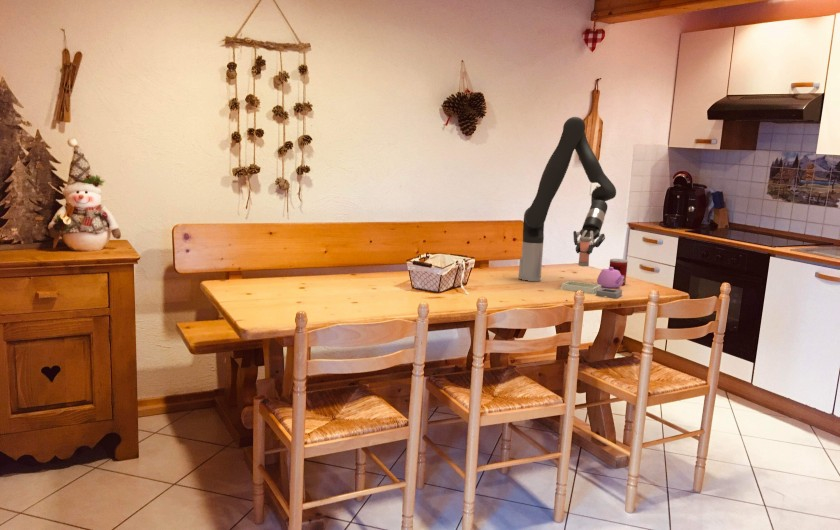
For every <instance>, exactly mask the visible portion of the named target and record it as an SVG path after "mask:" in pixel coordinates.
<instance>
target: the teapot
mask: <svg viewBox="0 0 840 530" xmlns="http://www.w3.org/2000/svg"><path fill="white" fill-rule="evenodd" d="M623 278H624V276H623V275H621V273H620V271H618V270H614V269H613V267H608V268H603V269H601V271H600V273H599V274H598V276H597V278H596V279H597V280H596V284H597V285H601V287H602V288H607V289H614V288H615V289H617V288H621V287H622V286H623V285H622V284H623Z"/></svg>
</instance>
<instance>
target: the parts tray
mask: <svg viewBox="0 0 840 530" xmlns="http://www.w3.org/2000/svg"><path fill="white" fill-rule="evenodd" d="M601 288H602V286H601V285H599V284H598V283H589V282H581V281H573V280H568V281H566V282H564V283H561V288H560V290H563V291H564V290H565V291H571V292H577V291H578V290H581V291H583V292H582V293H585V294H591V295H596V291H597V290H599V289H601Z"/></svg>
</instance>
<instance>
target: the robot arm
mask: <svg viewBox="0 0 840 530" xmlns="http://www.w3.org/2000/svg"><path fill="white" fill-rule="evenodd" d="M561 132H562V133H561V135H560V139H559V142H558V144H557V145H556V148H555V149H554V150H553V152H552V154H551V155H550V157H549V159H548V161H547V163H546V164H545V167H544V170H543V172H542V173H541V177H540V180H539V184H538V188H537V192H536V195H535V197H534V199H533V200H532V203H531V204H530V206H529V207H528V208H527V209H526V210H525V211H524V214H523V225H522V226H523V227H522V228H523V229H522V245H521V246H522V248H521V257H520V258H519V265H518V267H519V268H518V280H521V279H522V281H525V280H528V281H527V282H540V281H541V279H542V266H543V265H542V264H543V254H544V253H543V252H544V237H545V235H544V231H545V230H544V229H545V222H546V220H547V216H548V212H549V210H550V207H551V204H552V201H553V200H554V198H555V196H556V194H557V193H558V191H559V189H560V187H561V185H562V182H563V181H564V178H565V176H566V174H567V171H568V168H569V166H570V163H571V160H572V157H573V154H574V151H576V153H577V156H578V158H579V161H580V163H581V165H582V168H583V170H584V173H585V174H586V176H587V179H588V180H589V182H590V183H591V184H595V183H597V184H598V185H599V186H597V187H596V188H594V189H593V190H592V192H591V197H590V199H591V201H590V202H591V203H590V204H591V205H590V207H589V210H588V212H587V214H586V217H585V219H584V221H583V225H582V228H581V229H580V230H579V231H576V230H574V231H573V233H572V234H573V243H574V245H575V252H576V253H577V254H579V253H580V252H579V251H580V237H591V239H590V245H589V248H588V250H587V253H588V254H589V256H591V254H592V253H593V250H594V248H600V246H601V244H602V243H603V242H604V241H605V239H606V235H605V233H601V230H602V227H603V224H604V221H605V217H606V214H607V211H608V203H607V201H610V200H613V199H614V198H616V196H617V188H616V187H615V185H614V183H613V182H612V181H611V180H610V178H608V176H607V175H606V174H605V172H604V170H603V169H602V165H601V164H600V161H599V159H598V158H597V155H596V154H595V153H594V151H593V149H592V147H591V146H590V143H589V141H588V139H587V137H586V124H585V120H583V119H582V118H581V117H579V116H572V117H569V118H568V119H567V120H566V121H565V122H564V124H563V127H562V131H561ZM578 238H579V239H578ZM596 239H597V240H596ZM595 240H596V241H595Z"/></svg>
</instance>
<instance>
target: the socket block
mask: <svg viewBox="0 0 840 530" xmlns="http://www.w3.org/2000/svg"><path fill="white" fill-rule="evenodd" d="M594 296H595V297H601V298H603V299H604V298H605V299H613V300H614V299H615V300H617V299H619V298H621V297H623V290H620V289H614V288H607V287H601V289H599V290H597V291H596V293H595V294H594Z"/></svg>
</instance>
